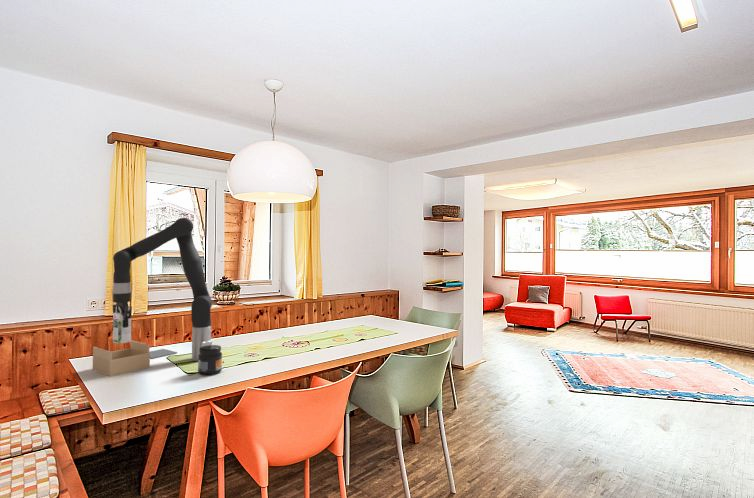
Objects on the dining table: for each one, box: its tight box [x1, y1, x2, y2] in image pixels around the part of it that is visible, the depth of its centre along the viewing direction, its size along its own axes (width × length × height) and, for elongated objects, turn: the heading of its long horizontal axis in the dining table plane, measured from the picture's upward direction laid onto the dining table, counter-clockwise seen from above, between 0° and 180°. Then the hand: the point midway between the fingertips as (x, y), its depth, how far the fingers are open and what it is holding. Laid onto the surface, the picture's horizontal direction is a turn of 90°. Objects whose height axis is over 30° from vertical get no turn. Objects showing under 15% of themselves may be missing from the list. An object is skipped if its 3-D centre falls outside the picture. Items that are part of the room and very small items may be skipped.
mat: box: [149, 348, 178, 360], centre depth 220 cm, size 14×14×1 cm
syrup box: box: [112, 312, 132, 345], centre depth 194 cm, size 6×6×14 cm
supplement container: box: [197, 344, 223, 376], centre depth 188 cm, size 10×10×12 cm
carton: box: [92, 339, 151, 377], centre depth 194 cm, size 18×18×11 cm
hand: (122, 326), depth 194 cm, fingers closed on syrup box, 6 cm apart
